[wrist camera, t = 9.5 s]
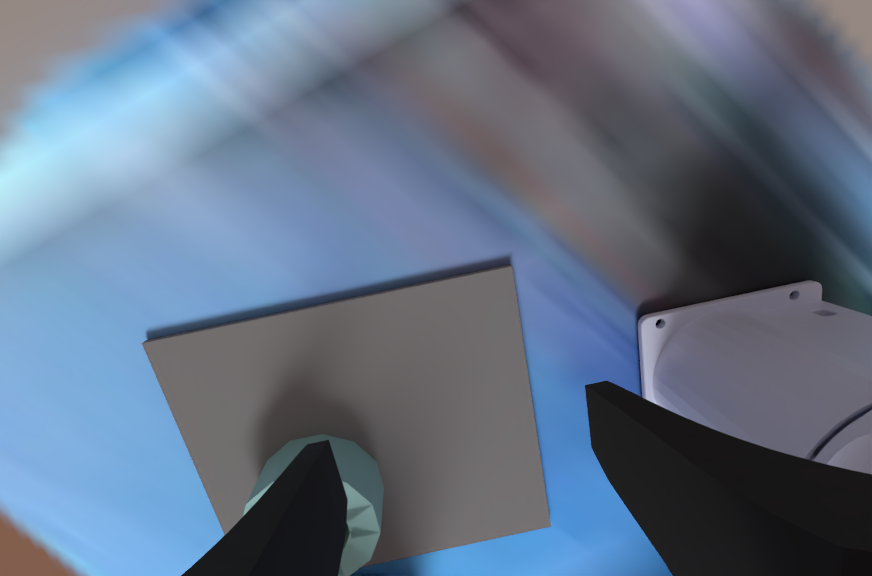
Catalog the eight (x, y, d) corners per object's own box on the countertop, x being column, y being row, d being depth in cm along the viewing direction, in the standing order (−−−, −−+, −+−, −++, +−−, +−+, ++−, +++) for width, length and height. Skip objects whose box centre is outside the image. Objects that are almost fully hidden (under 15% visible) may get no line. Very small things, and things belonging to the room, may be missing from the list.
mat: (510, 264, 20) (512, 266, 20) (548, 520, 25) (550, 526, 25) (146, 340, 20) (141, 343, 20) (251, 584, 25) (249, 591, 24)
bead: (366, 424, 22) (360, 463, 19) (393, 520, 24) (391, 569, 21) (245, 450, 22) (221, 493, 19) (282, 544, 24) (264, 596, 21)
